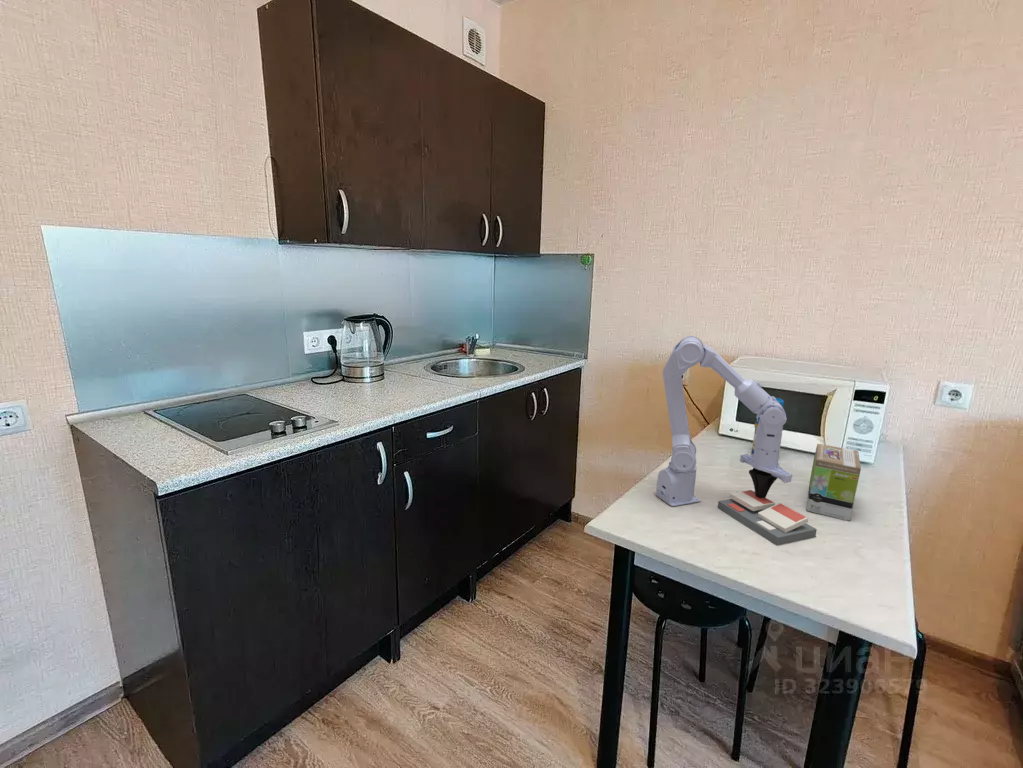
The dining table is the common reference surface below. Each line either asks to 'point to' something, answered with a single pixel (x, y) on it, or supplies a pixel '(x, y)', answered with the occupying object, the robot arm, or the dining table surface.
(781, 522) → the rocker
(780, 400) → the beverage bottle
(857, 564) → the dining table surface
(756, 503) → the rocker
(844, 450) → the tea box
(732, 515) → the switch panel
